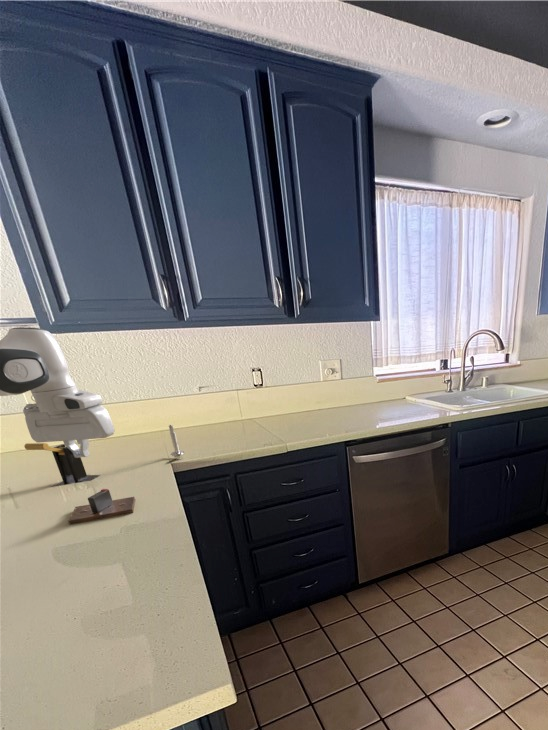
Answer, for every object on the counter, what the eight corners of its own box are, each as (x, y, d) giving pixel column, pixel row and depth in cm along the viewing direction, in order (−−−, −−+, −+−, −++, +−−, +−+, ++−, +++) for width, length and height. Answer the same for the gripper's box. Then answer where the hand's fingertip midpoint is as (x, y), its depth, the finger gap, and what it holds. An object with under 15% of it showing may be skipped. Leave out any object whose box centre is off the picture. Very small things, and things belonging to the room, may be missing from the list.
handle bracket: (77, 490, 134) (63, 451, 129) (51, 490, 135) (35, 451, 129) (101, 478, 144) (89, 441, 138) (77, 478, 145) (63, 441, 139)
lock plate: (72, 531, 106) (67, 520, 105) (79, 516, 115) (75, 506, 113) (135, 519, 112) (131, 508, 110) (137, 506, 120) (134, 495, 119)
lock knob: (98, 512, 109) (92, 497, 107) (92, 512, 109) (86, 497, 107) (113, 503, 114) (108, 488, 113) (107, 503, 115) (103, 488, 113)
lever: (43, 450, 124) (43, 441, 124) (24, 450, 124) (24, 442, 124) (77, 455, 136) (77, 448, 136) (60, 456, 136) (60, 448, 136)
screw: (168, 460, 160) (178, 456, 164) (179, 460, 159) (188, 457, 163) (160, 425, 155) (169, 422, 159) (170, 426, 154) (180, 423, 158)
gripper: (9, 407, 100) (35, 463, 106) (88, 400, 97) (110, 458, 103) (31, 401, 105) (55, 454, 111) (106, 395, 103) (127, 450, 109)
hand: (82, 456), depth 107 cm, fingers closed
